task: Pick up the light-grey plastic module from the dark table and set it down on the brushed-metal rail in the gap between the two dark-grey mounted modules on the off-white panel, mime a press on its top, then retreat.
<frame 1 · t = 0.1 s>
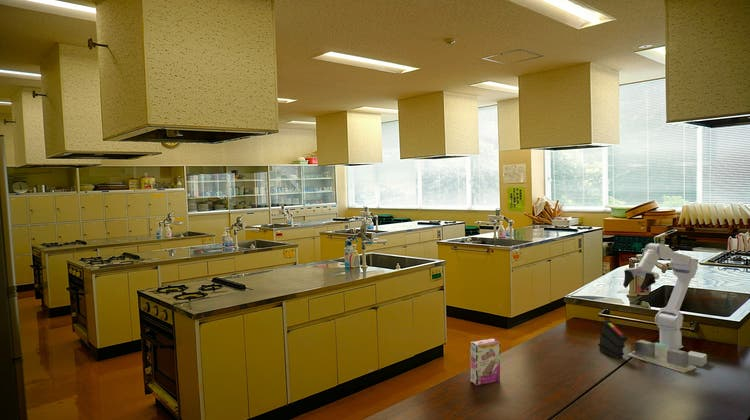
hand: (633, 287, 210), 32 cm above the table, tool tilted 50°, fingers open, 7 cm apart
rail panel: (660, 361, 208), on the table
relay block: (696, 363, 206), on the table
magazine: (612, 355, 217), on the table
candy bar box: (485, 382, 193), on the table
module: (660, 356, 215), on the table
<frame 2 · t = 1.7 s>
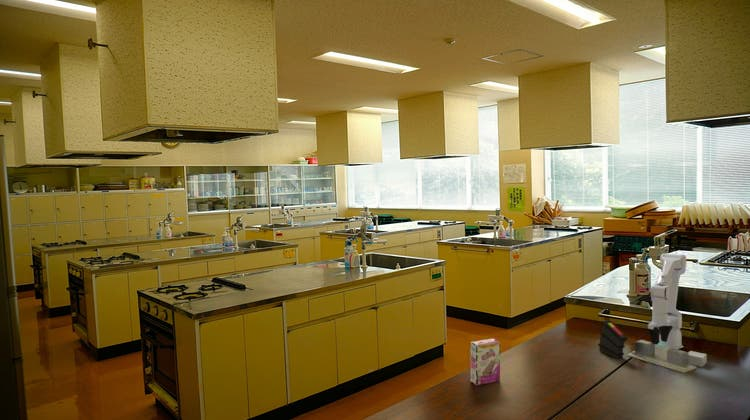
hand: (659, 342, 214), 6 cm above the table, tool pointing down, fingers open, 6 cm apart
nothing on the table moved.
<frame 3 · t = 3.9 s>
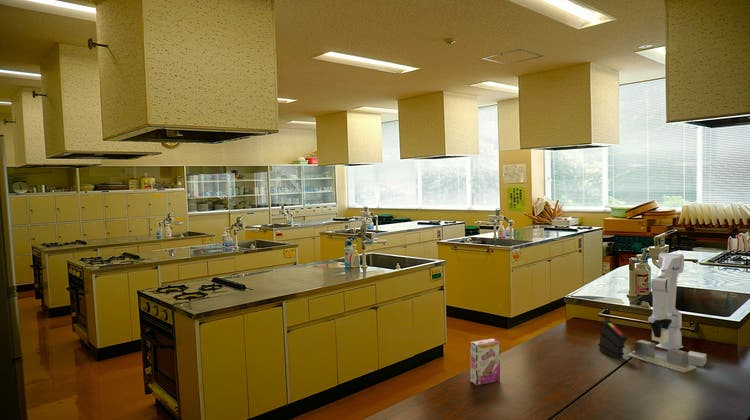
hand: (660, 336, 211), 10 cm above the table, tool pointing down, fingers closed on module, 4 cm apart
module: (660, 340, 211), point 8 cm above the table, touching gripper
everything else where it was.
when the fingers open (4 cm above the table, at t = 5.7 s): module stays where it is, resting on rail panel.
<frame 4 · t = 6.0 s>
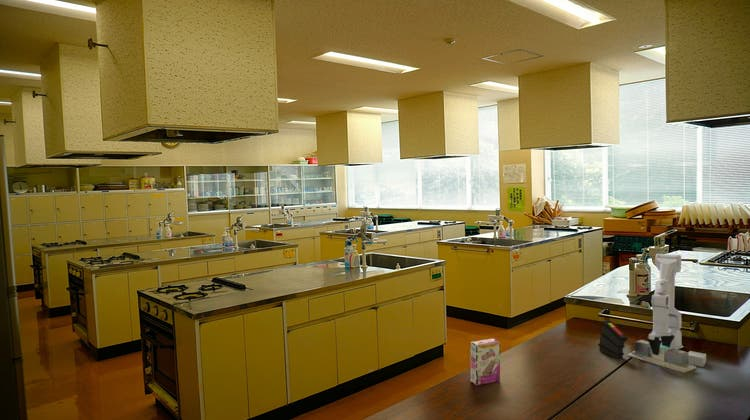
hand: (660, 352, 208), 4 cm above the table, tool pointing down, fingers open, 7 cm apart
module: (660, 358, 208), point 1 cm above the table, touching rail panel
everything else where it was.
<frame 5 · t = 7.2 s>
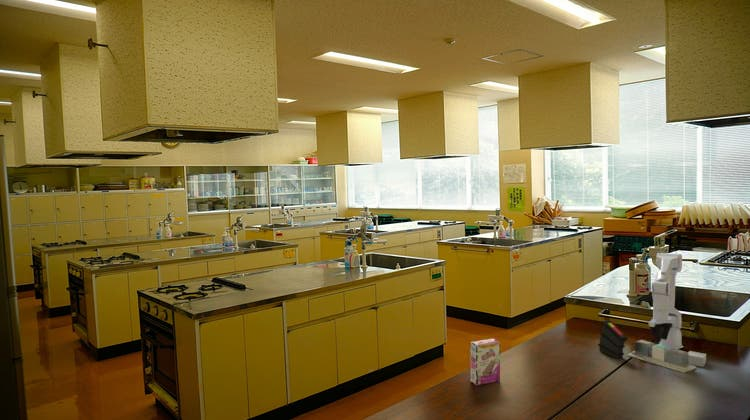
hand: (660, 340, 208), 9 cm above the table, tool pointing down, fingers open, 4 cm apart
nothing on the table moved.
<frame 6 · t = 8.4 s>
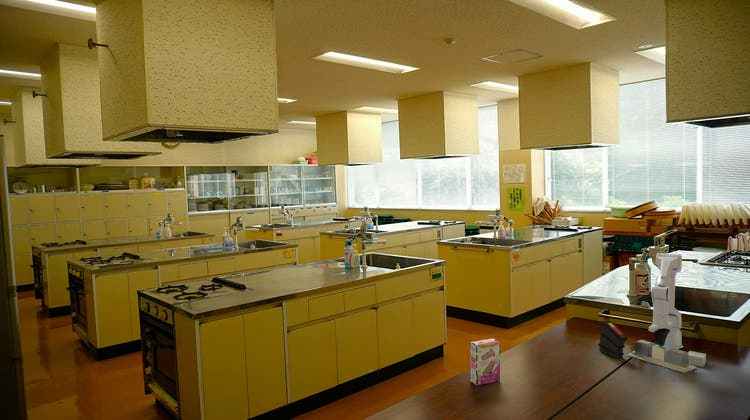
hand: (660, 345, 208), 7 cm above the table, tool pointing down, fingers closed
nothing on the table moved.
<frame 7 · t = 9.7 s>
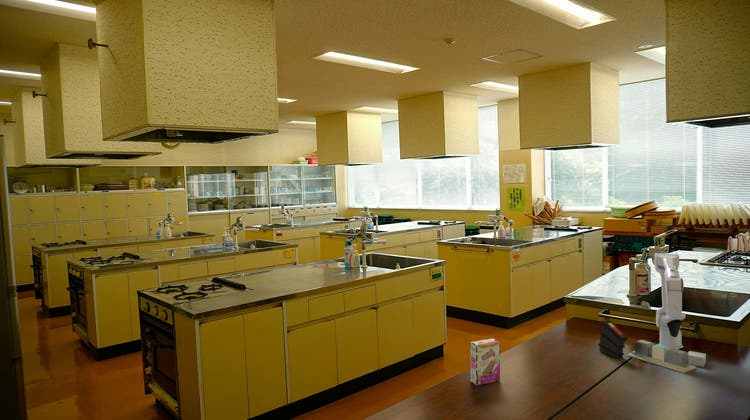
hand: (673, 336, 209), 10 cm above the table, tool pointing down, fingers closed
nothing on the table moved.
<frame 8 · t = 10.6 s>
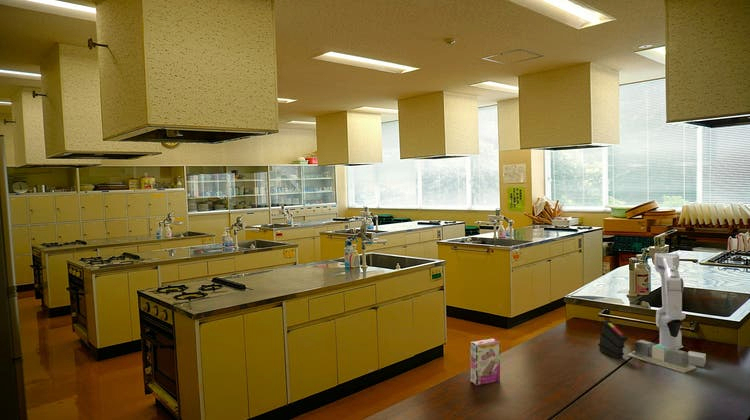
hand: (673, 336, 209), 10 cm above the table, tool pointing down, fingers closed
nothing on the table moved.
at the end: module 0.0 cm off-centre on the rail panel, point 1.5 cm above the rail panel's base; module tilted 0°; the gripper is holding nothing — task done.
